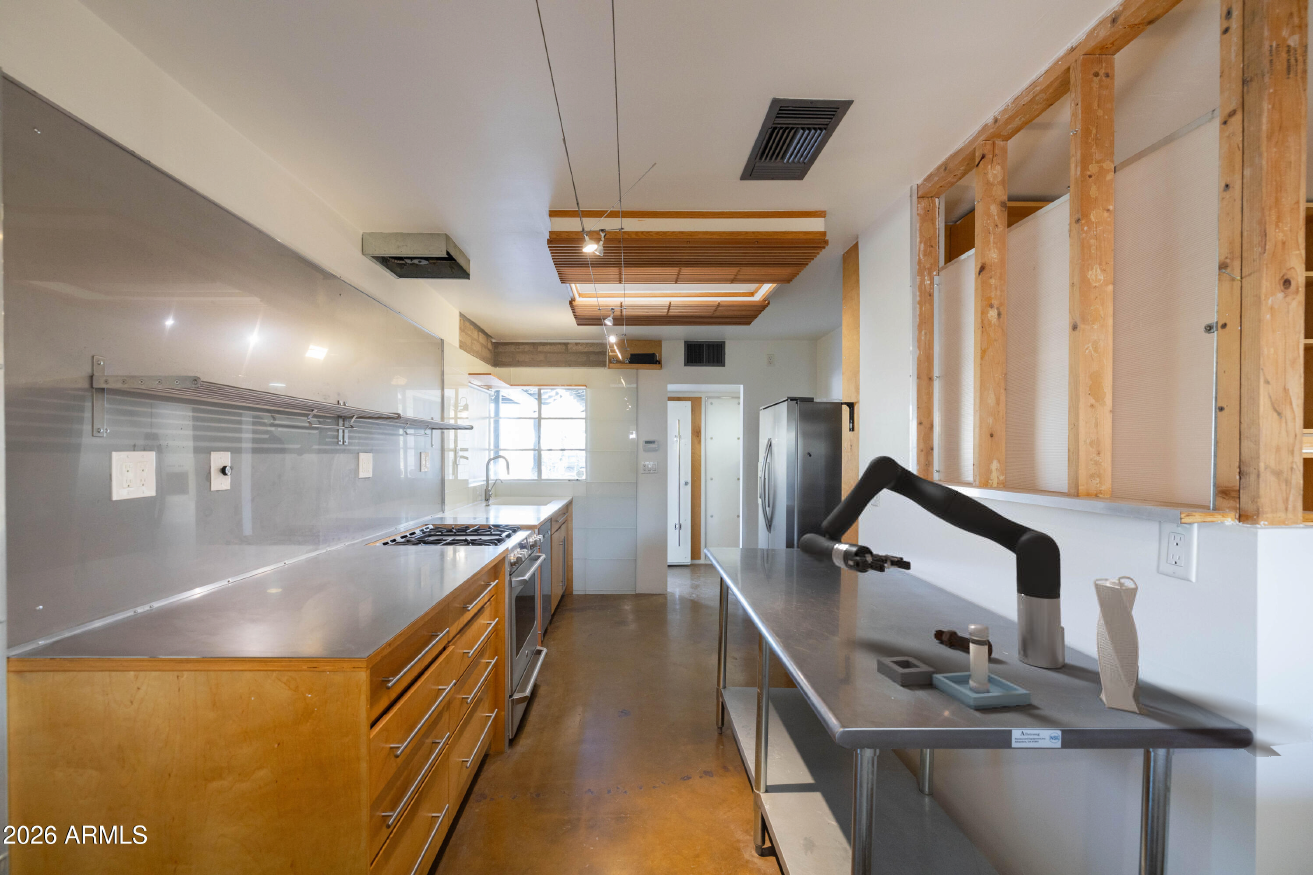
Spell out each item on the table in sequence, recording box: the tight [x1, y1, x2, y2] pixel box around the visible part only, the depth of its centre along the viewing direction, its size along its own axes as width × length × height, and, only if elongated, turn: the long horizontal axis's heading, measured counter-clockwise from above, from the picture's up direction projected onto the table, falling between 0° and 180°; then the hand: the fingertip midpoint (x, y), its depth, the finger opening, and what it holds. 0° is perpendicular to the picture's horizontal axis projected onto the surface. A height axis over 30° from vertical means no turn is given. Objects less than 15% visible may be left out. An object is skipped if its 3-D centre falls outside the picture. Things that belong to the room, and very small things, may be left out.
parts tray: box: [932, 671, 1031, 710], centre depth 118 cm, size 14×12×2 cm
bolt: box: [933, 629, 994, 660], centre depth 147 cm, size 6×5×15 cm
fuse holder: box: [876, 655, 936, 687], centre depth 127 cm, size 9×9×3 cm
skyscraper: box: [1093, 575, 1152, 716], centre depth 114 cm, size 8×8×28 cm
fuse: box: [968, 623, 990, 694], centre depth 118 cm, size 4×4×14 cm
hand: (897, 567), depth 137 cm, fingers open, 8 cm apart
